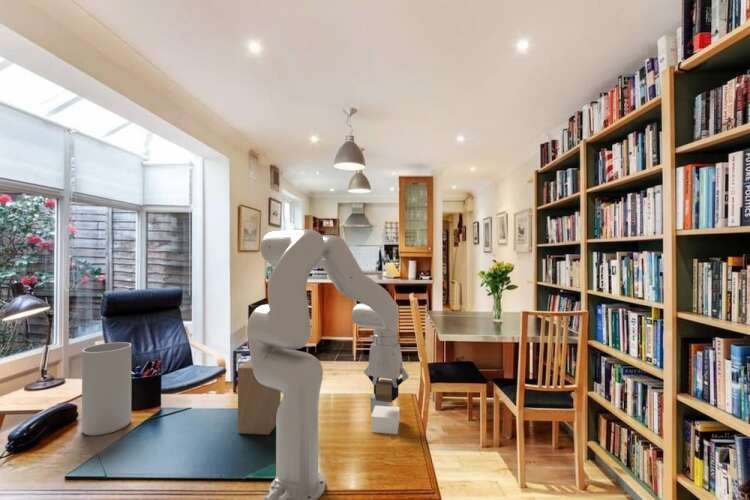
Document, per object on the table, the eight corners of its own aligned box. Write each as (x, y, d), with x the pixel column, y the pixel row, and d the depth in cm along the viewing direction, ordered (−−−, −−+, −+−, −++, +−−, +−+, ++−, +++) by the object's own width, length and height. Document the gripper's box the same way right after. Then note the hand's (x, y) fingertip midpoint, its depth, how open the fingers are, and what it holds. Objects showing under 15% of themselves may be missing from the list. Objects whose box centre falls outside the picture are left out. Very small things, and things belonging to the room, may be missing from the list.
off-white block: (397, 434, 109) (397, 418, 109) (371, 432, 111) (371, 416, 111) (399, 422, 117) (399, 407, 117) (375, 420, 119) (375, 405, 119)
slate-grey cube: (384, 414, 123) (384, 399, 123) (370, 411, 125) (370, 397, 125) (388, 408, 128) (388, 393, 128) (375, 406, 130) (375, 392, 130)
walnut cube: (391, 402, 111) (391, 386, 111) (375, 400, 113) (375, 384, 113) (396, 396, 116) (396, 380, 116) (381, 394, 117) (381, 378, 117)
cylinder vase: (112, 436, 108) (112, 352, 108) (70, 436, 108) (71, 352, 108) (140, 417, 120) (140, 342, 120) (103, 417, 121) (103, 342, 121)
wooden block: (281, 420, 119) (281, 358, 119) (269, 435, 109) (269, 368, 109) (251, 418, 120) (251, 358, 120) (237, 433, 110) (237, 367, 110)
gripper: (356, 340, 114) (356, 398, 114) (408, 345, 108) (409, 406, 108) (365, 335, 121) (365, 389, 121) (415, 339, 115) (415, 396, 115)
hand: (386, 397), depth 114 cm, fingers closed on walnut cube, 4 cm apart
